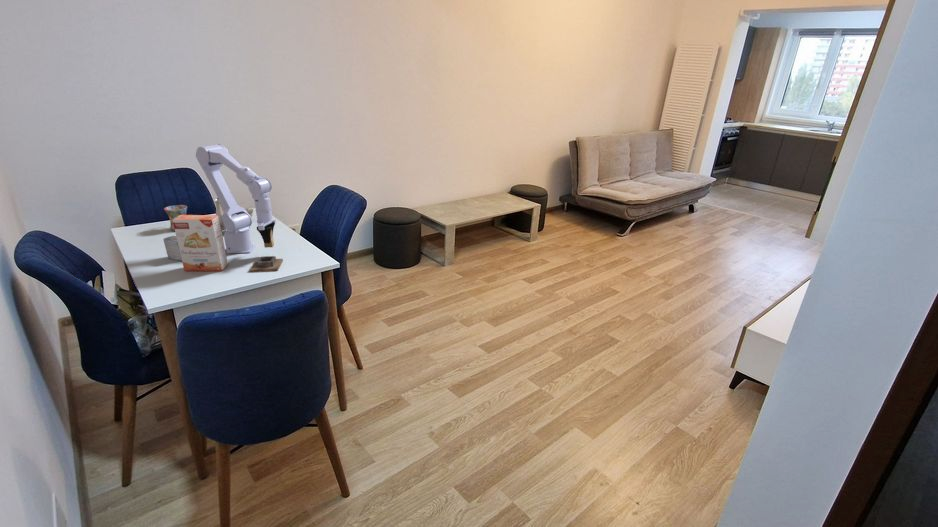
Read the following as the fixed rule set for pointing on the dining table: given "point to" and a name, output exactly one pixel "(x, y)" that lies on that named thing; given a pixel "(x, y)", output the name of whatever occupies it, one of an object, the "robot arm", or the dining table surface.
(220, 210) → the chinaware
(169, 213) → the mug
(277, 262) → the clip stand
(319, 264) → the dining table surface
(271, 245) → the wick block
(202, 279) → the dining table surface
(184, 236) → the cracker box
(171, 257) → the medicine box
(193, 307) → the dining table surface
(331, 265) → the dining table surface
